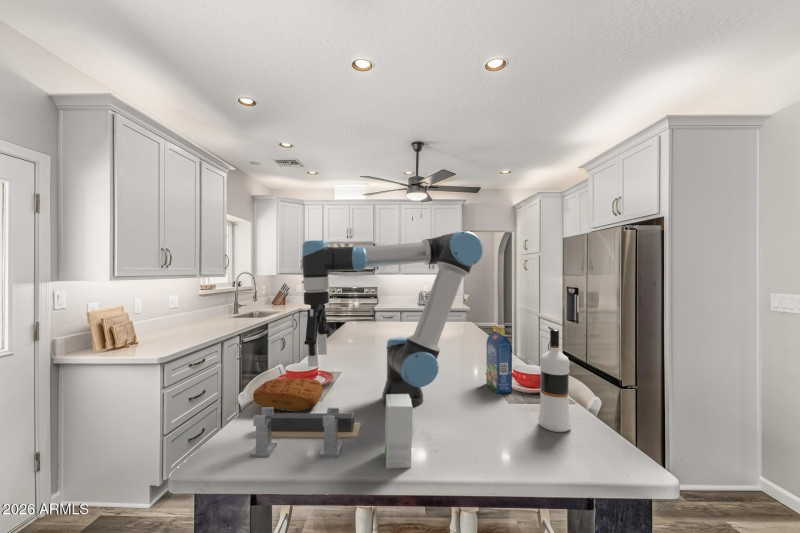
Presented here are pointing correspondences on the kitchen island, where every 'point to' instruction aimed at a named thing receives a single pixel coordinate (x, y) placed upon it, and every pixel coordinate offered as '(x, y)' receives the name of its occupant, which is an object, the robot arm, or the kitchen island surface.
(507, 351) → the blue food package
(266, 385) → the inscribed clay slab
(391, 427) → the skincare box
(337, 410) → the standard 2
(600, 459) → the kitchen island surface
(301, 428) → the rail
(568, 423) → the vodka
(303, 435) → the mat
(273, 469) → the kitchen island surface
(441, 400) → the kitchen island surface
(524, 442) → the kitchen island surface
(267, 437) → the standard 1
